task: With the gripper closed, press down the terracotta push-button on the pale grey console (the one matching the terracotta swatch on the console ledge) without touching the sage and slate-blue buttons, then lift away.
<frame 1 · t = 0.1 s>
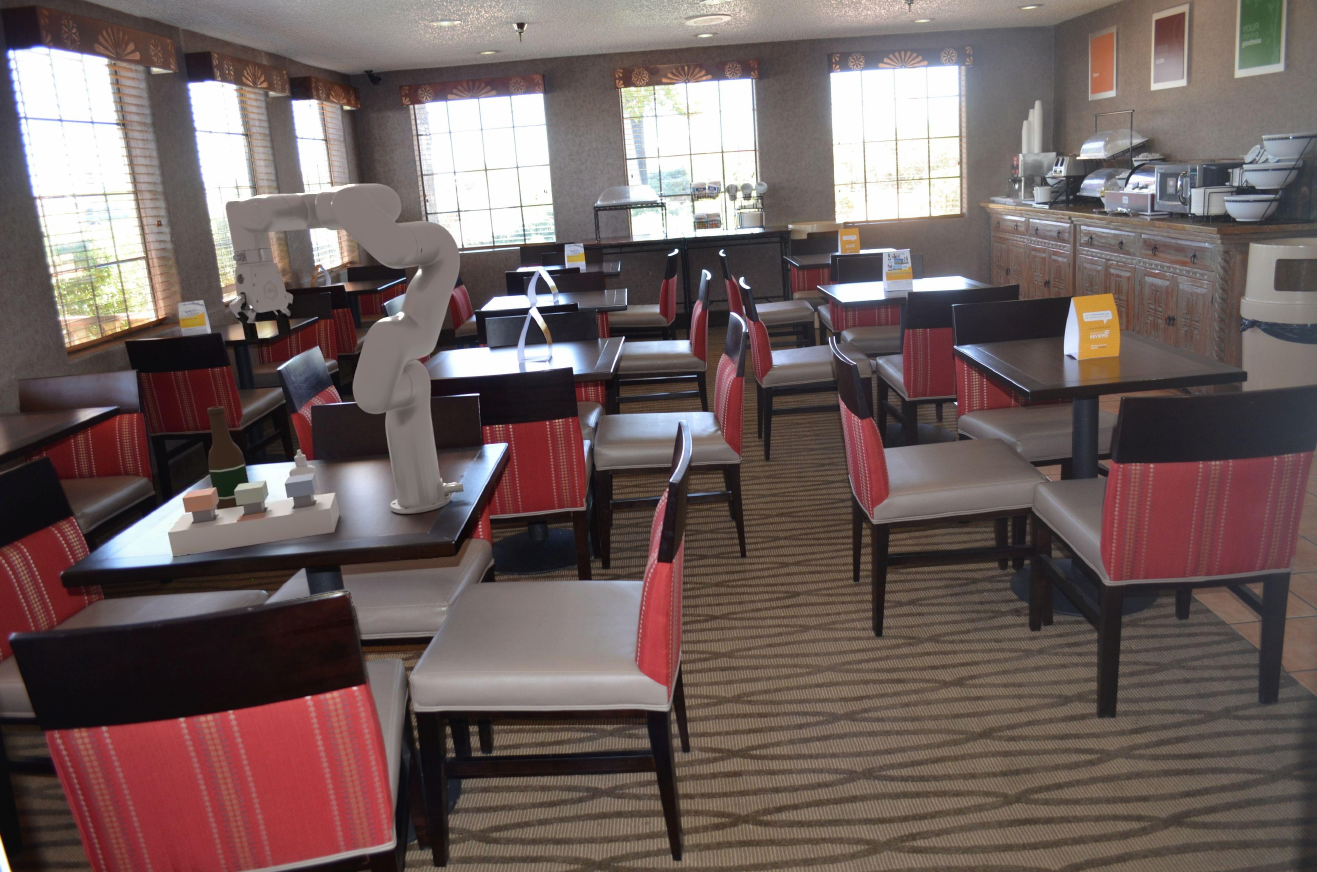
hand: (269, 338, 207), 37 cm above the table, tool pointing down, fingers open, 9 cm apart
console: (260, 535, 193), on the table
sage button: (253, 504, 192), point 6 cm above the table, slide at 0.0 cm
slate button: (303, 497, 194), point 6 cm above the table, slide at 0.0 cm
beer bottle: (236, 514, 211), on the table
eye dropper bottle: (308, 502, 215), on the table
terracotta button: (203, 511, 190), point 6 cm above the table, slide at 0.0 cm
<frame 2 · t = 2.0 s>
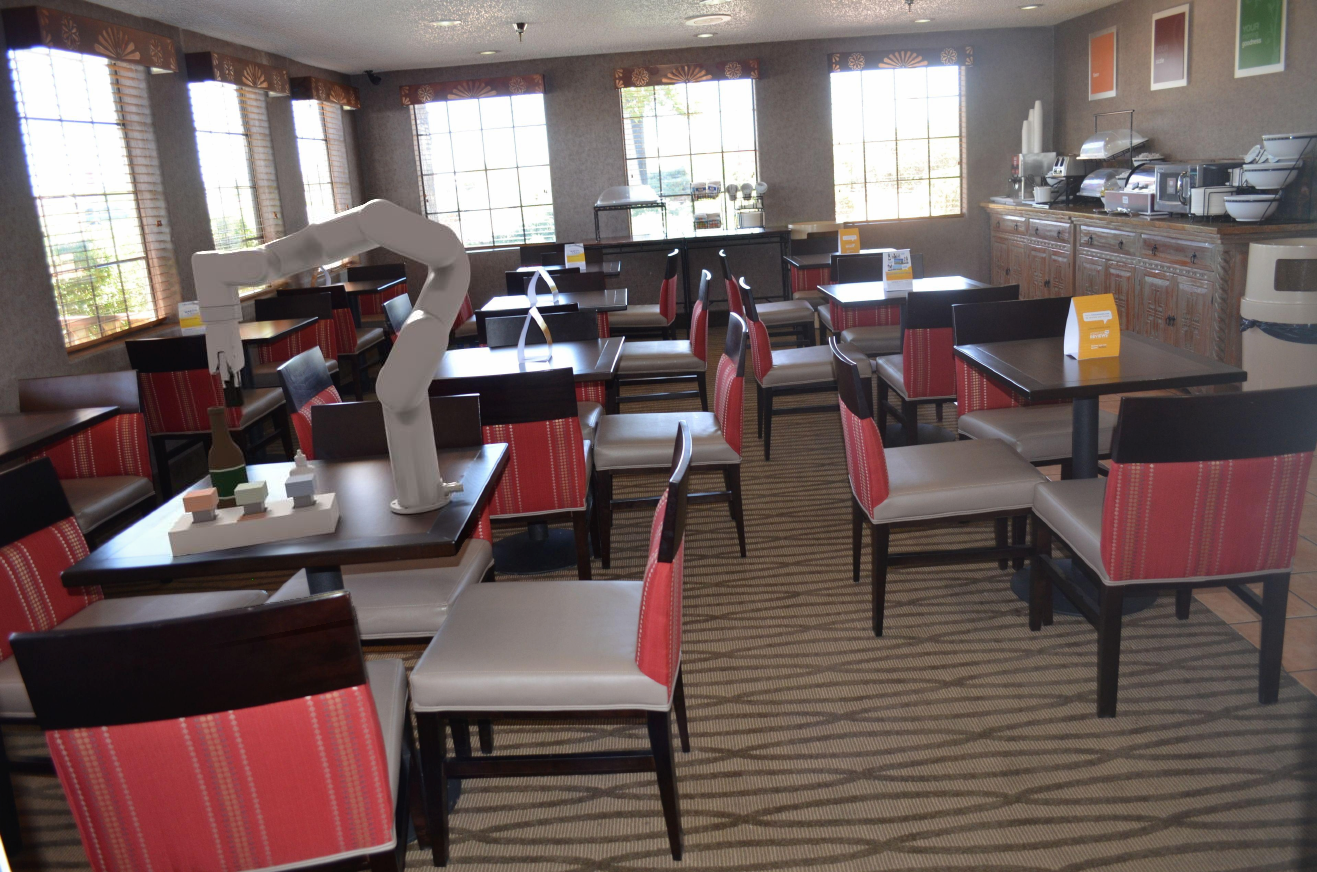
hand: (235, 406, 191), 26 cm above the table, tool pointing down, fingers closed
nothing on the table moved.
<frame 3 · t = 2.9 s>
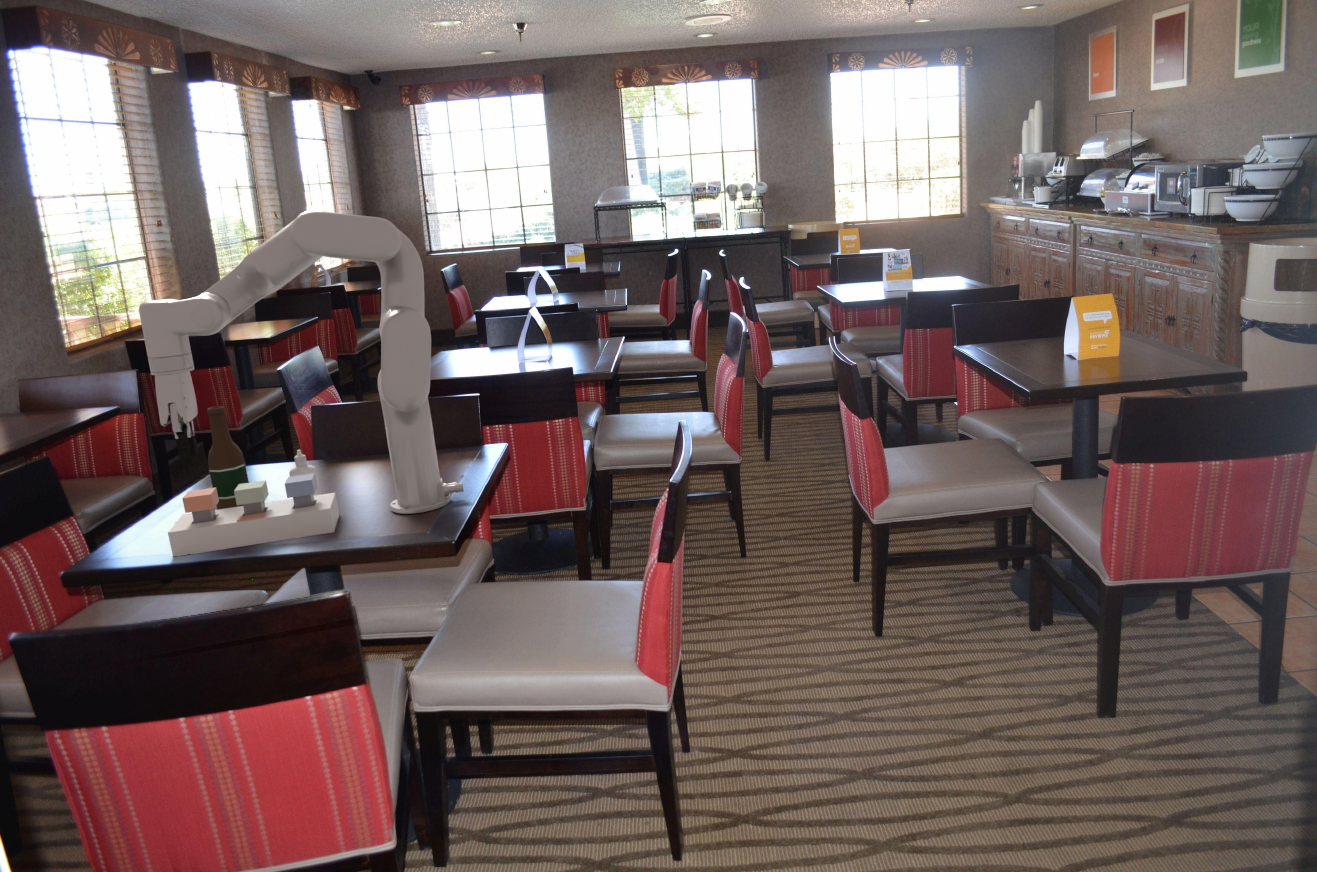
hand: (189, 456, 187), 18 cm above the table, tool pointing down, fingers closed
nothing on the table moved.
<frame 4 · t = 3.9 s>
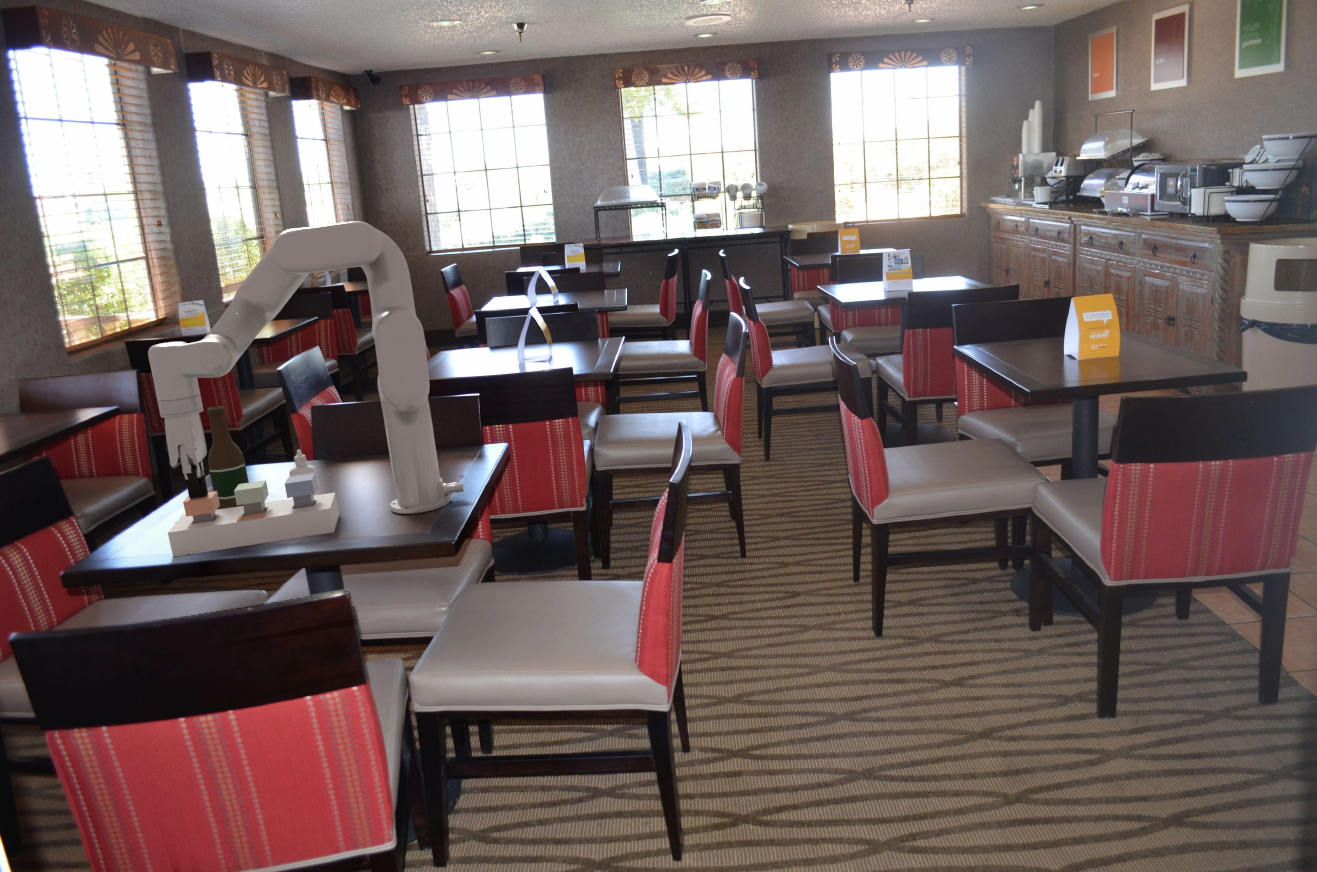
hand: (198, 496, 189), 10 cm above the table, tool pointing down, fingers closed
terracotta button: (204, 515, 190), point 6 cm above the table, slide at 0.8 cm, touching gripper
everything else where it was.
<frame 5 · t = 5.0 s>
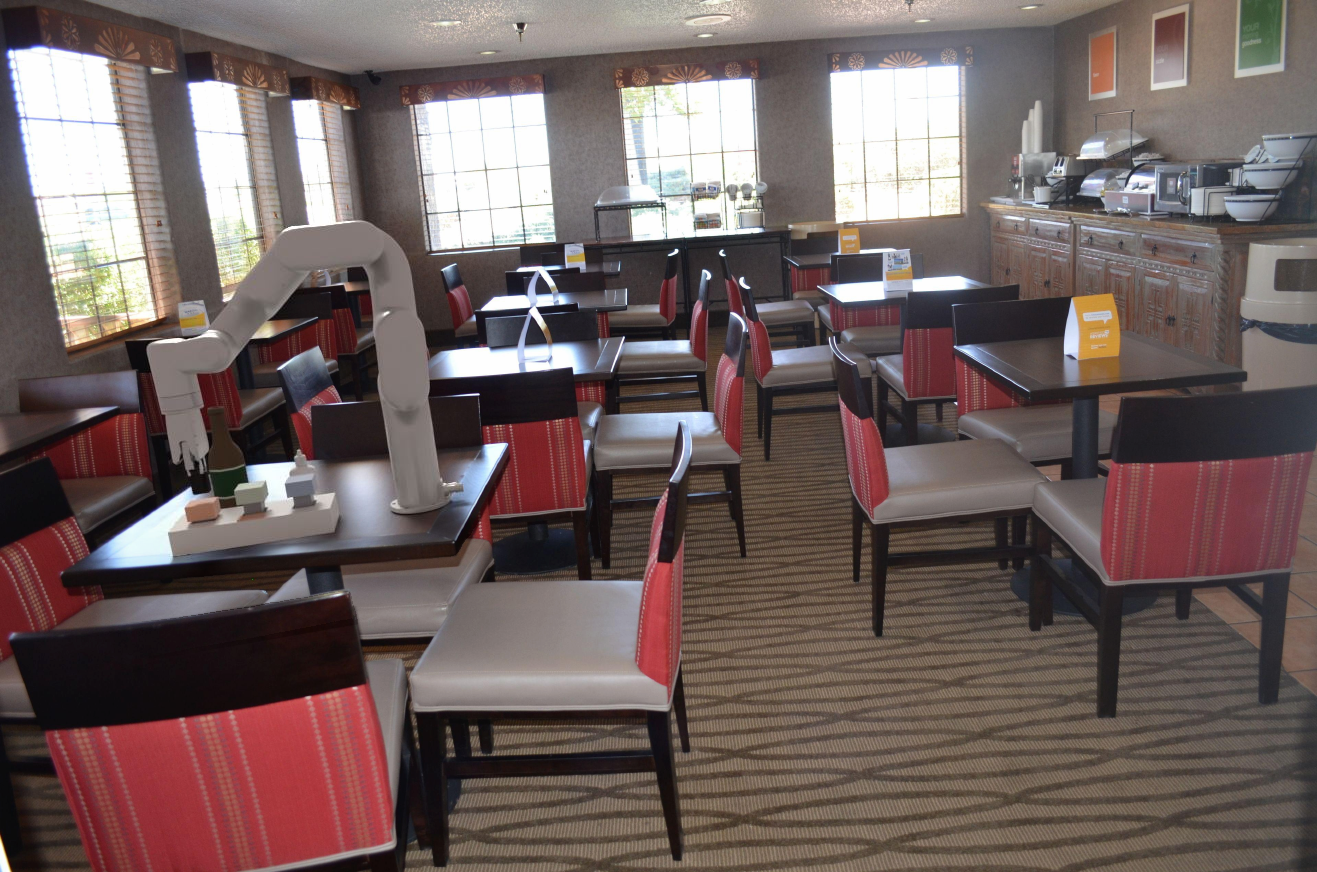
hand: (202, 492, 189), 10 cm above the table, tool pointing down, fingers closed
terracotta button: (205, 521, 190), point 5 cm above the table, slide at 1.9 cm
everything else where it was.
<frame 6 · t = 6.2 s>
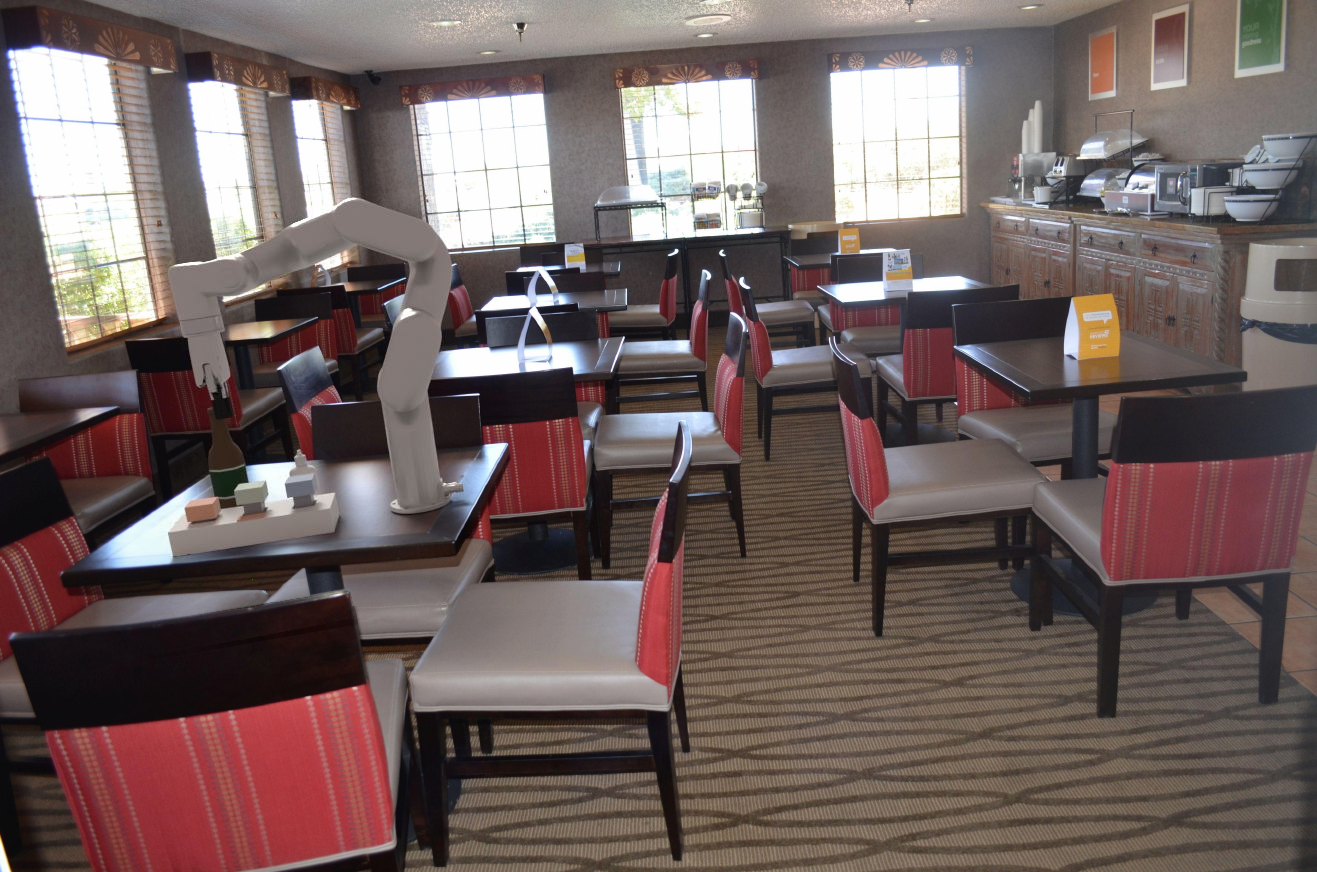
hand: (225, 417, 190), 24 cm above the table, tool pointing down, fingers closed
nothing on the table moved.
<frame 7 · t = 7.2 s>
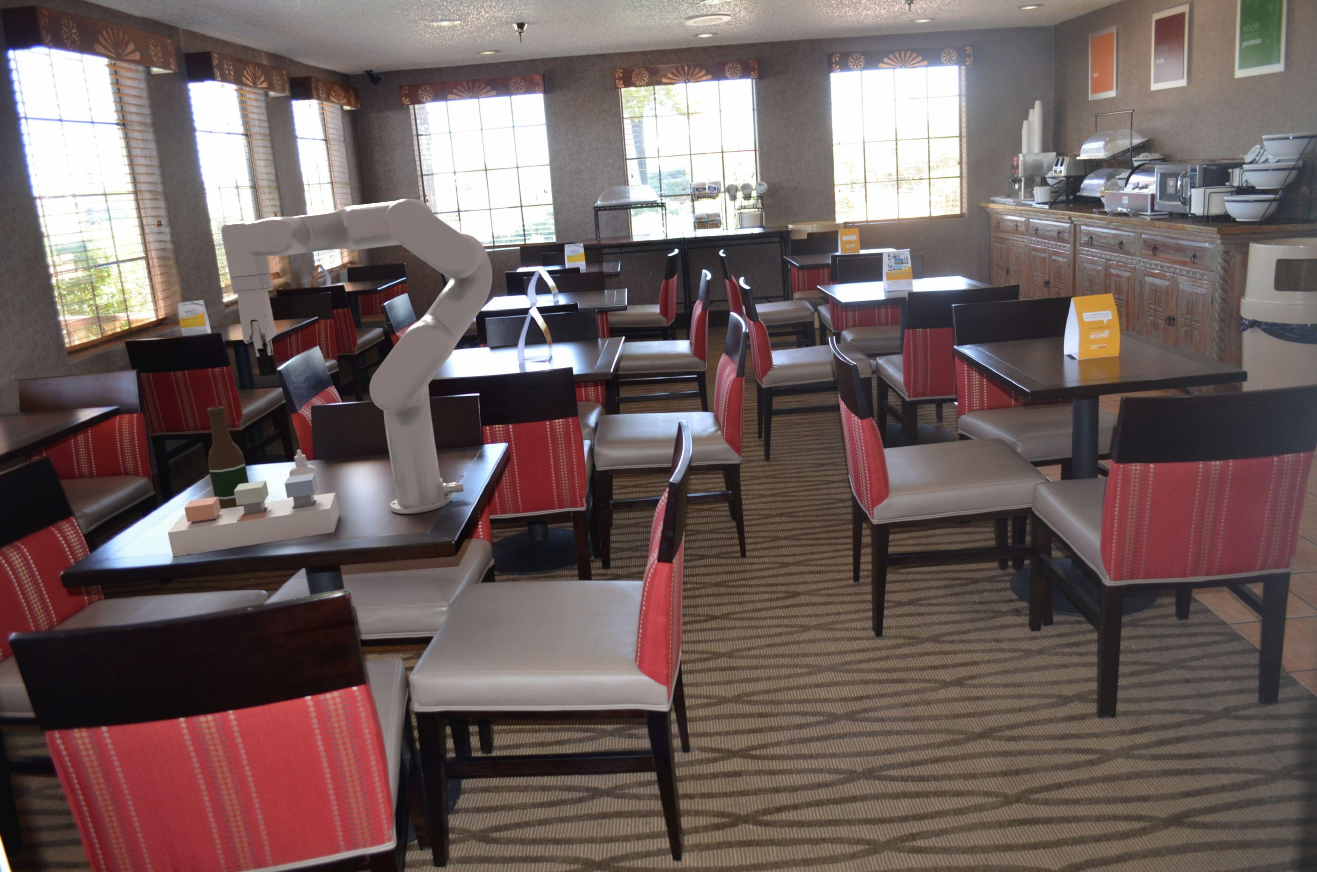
hand: (268, 374, 195), 31 cm above the table, tool pointing down, fingers closed
nothing on the table moved.
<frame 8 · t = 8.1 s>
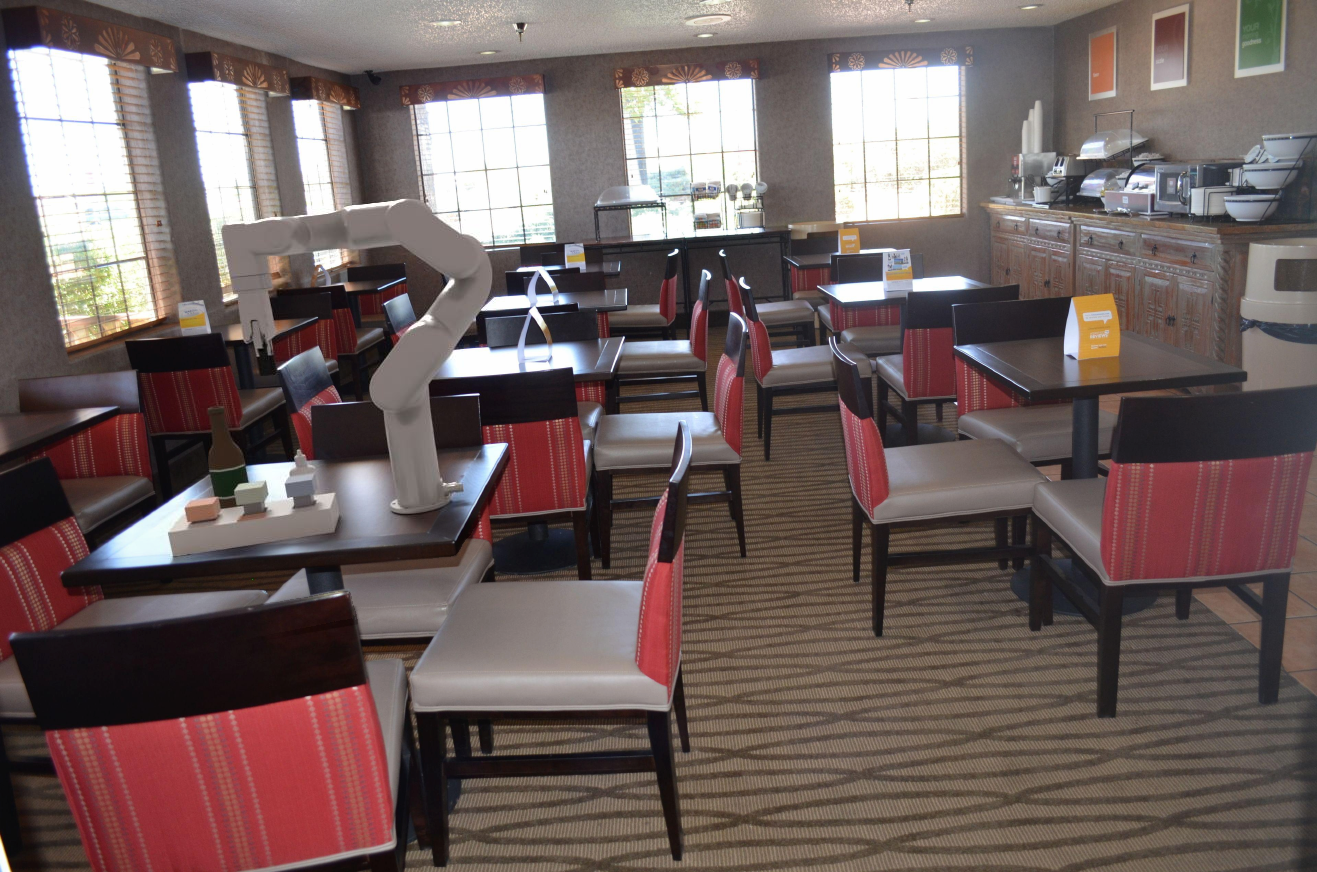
hand: (268, 374, 195), 31 cm above the table, tool pointing down, fingers closed
nothing on the table moved.
at the end: terracotta button slide at 1.9 cm; sage button slide at 0.0 cm; slate button slide at 0.0 cm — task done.
